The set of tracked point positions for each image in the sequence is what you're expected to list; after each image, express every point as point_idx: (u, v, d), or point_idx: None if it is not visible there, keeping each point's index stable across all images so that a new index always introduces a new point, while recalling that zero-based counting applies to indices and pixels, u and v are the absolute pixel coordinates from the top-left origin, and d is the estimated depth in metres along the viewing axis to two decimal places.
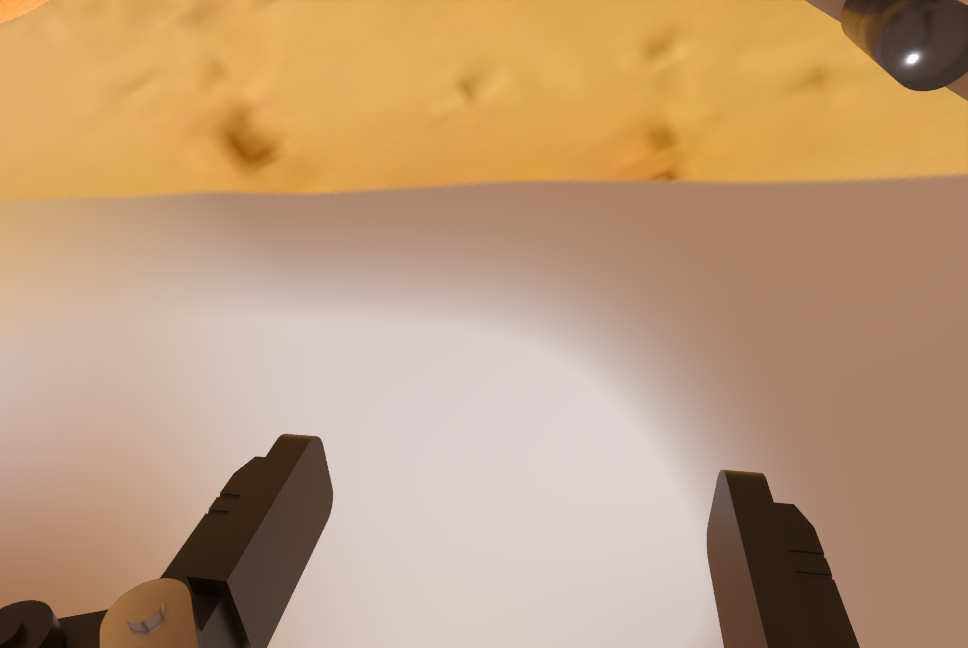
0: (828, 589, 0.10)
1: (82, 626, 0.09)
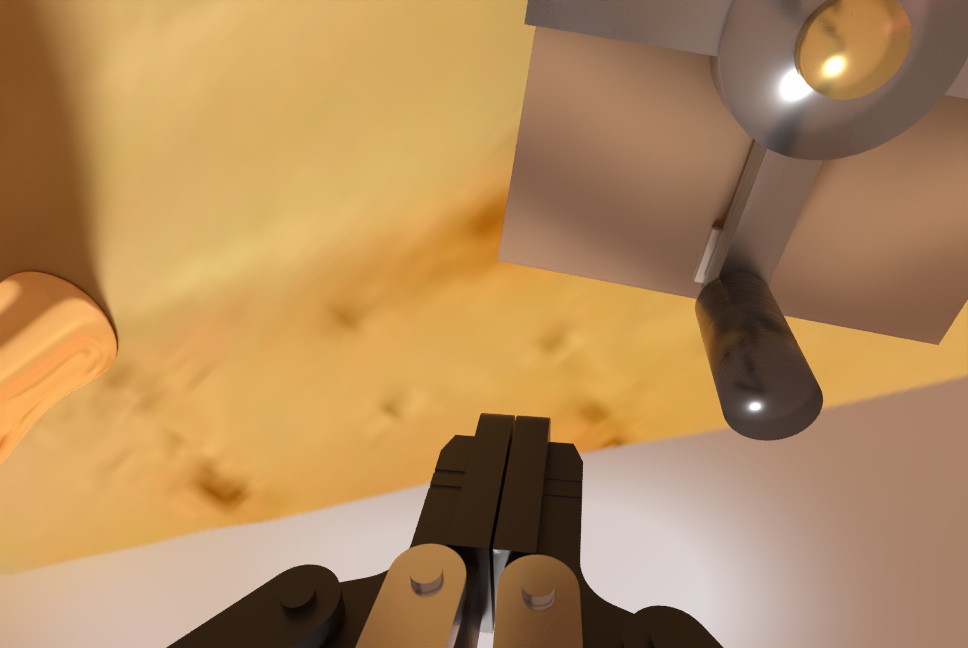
0: (573, 508, 0.11)
1: (353, 591, 0.10)
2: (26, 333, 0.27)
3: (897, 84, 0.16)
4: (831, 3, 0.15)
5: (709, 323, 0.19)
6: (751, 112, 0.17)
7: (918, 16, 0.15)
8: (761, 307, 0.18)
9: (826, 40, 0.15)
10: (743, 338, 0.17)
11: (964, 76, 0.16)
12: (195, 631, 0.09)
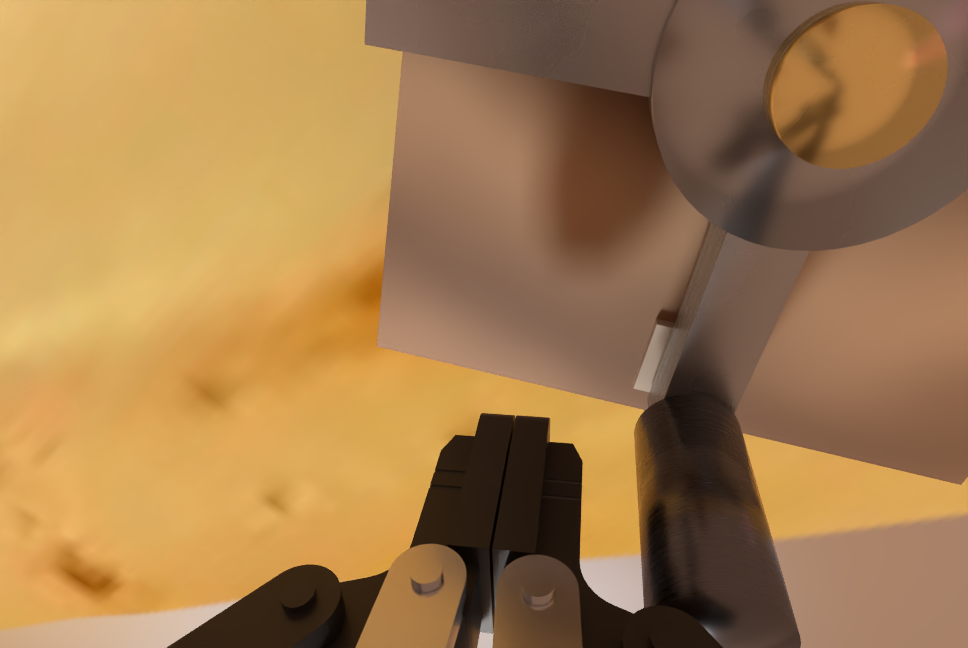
0: (573, 508, 0.11)
1: (353, 591, 0.10)
2: None
3: (923, 145, 0.10)
4: (819, 20, 0.09)
5: (644, 474, 0.13)
6: (701, 180, 0.11)
7: (958, 42, 0.10)
8: (716, 463, 0.12)
9: (811, 78, 0.10)
10: (682, 523, 0.11)
11: None
12: (196, 631, 0.09)
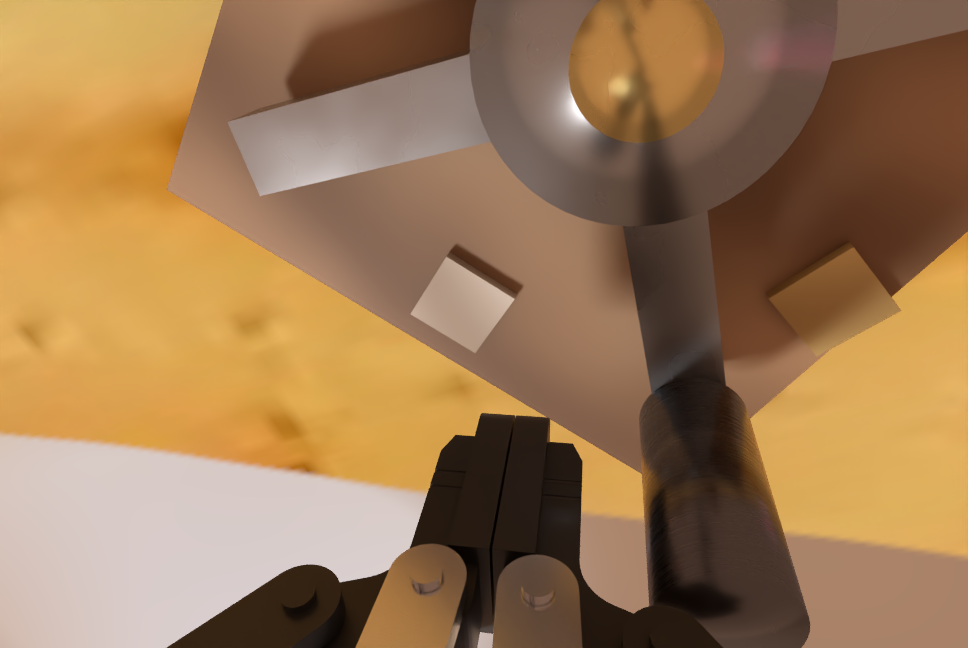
0: (573, 509, 0.11)
1: (353, 591, 0.10)
2: None
3: (750, 78, 0.10)
4: (582, 22, 0.10)
5: (642, 475, 0.13)
6: (570, 191, 0.12)
7: None
8: (696, 444, 0.12)
9: (597, 73, 0.10)
10: (664, 516, 0.11)
11: (852, 23, 0.10)
12: (196, 631, 0.09)
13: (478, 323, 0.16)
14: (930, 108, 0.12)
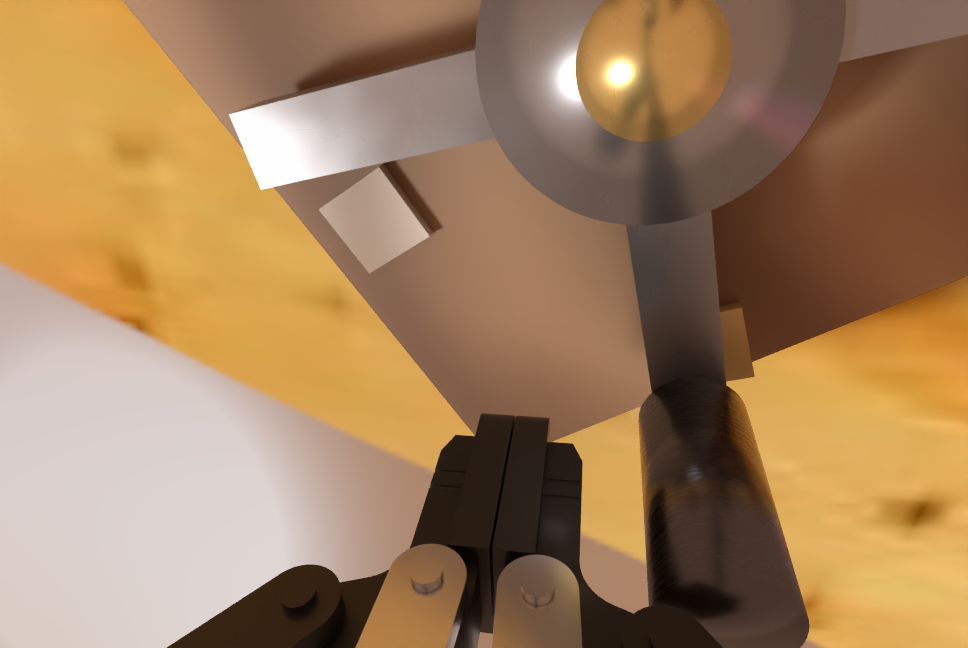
0: (573, 509, 0.11)
1: (353, 591, 0.10)
2: None
3: (757, 78, 0.10)
4: (589, 19, 0.10)
5: (642, 474, 0.13)
6: (574, 189, 0.12)
7: None
8: (696, 444, 0.12)
9: (604, 71, 0.10)
10: (664, 516, 0.11)
11: (860, 25, 0.10)
12: (196, 631, 0.09)
13: (384, 246, 0.15)
14: (850, 214, 0.13)
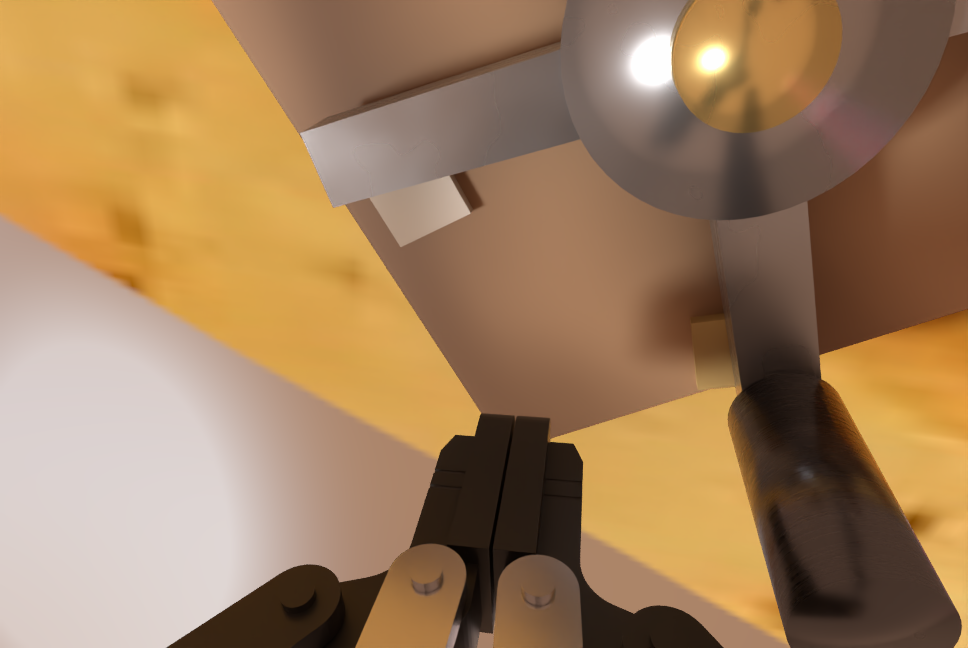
0: (574, 509, 0.11)
1: (352, 591, 0.10)
2: None
3: (860, 59, 0.10)
4: (686, 10, 0.10)
5: (745, 477, 0.13)
6: (663, 186, 0.12)
7: None
8: (807, 443, 0.12)
9: (704, 63, 0.10)
10: (786, 520, 0.11)
11: None
12: (195, 631, 0.09)
13: (420, 219, 0.15)
14: (900, 227, 0.13)
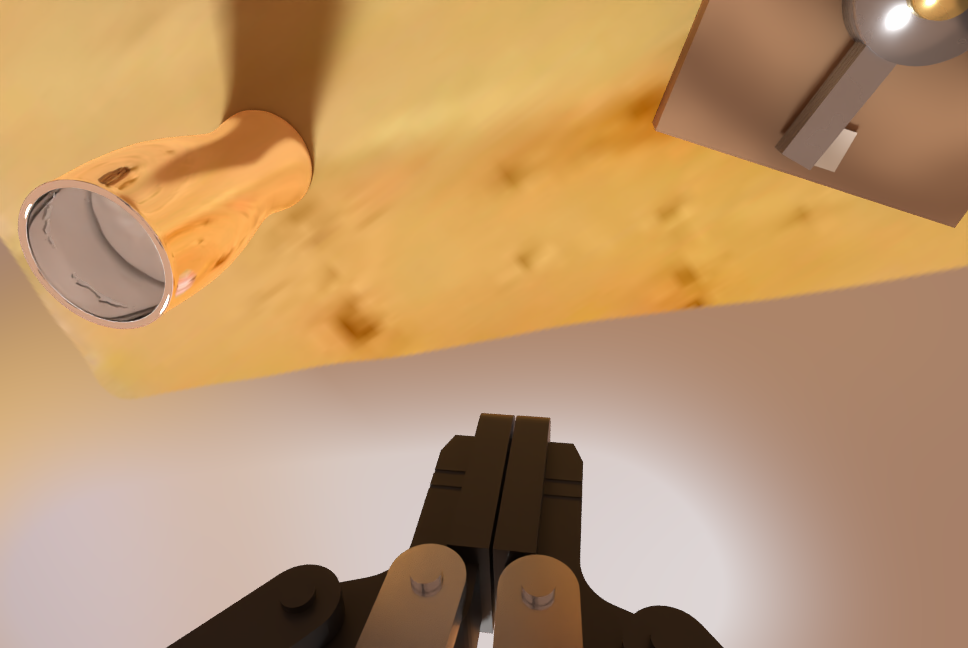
0: (573, 508, 0.11)
1: (353, 591, 0.10)
2: (266, 151, 0.34)
3: None
4: None
5: None
6: (946, 50, 0.26)
7: None
8: None
9: (932, 4, 0.25)
10: None
11: None
12: (195, 631, 0.09)
13: (836, 153, 0.31)
14: None
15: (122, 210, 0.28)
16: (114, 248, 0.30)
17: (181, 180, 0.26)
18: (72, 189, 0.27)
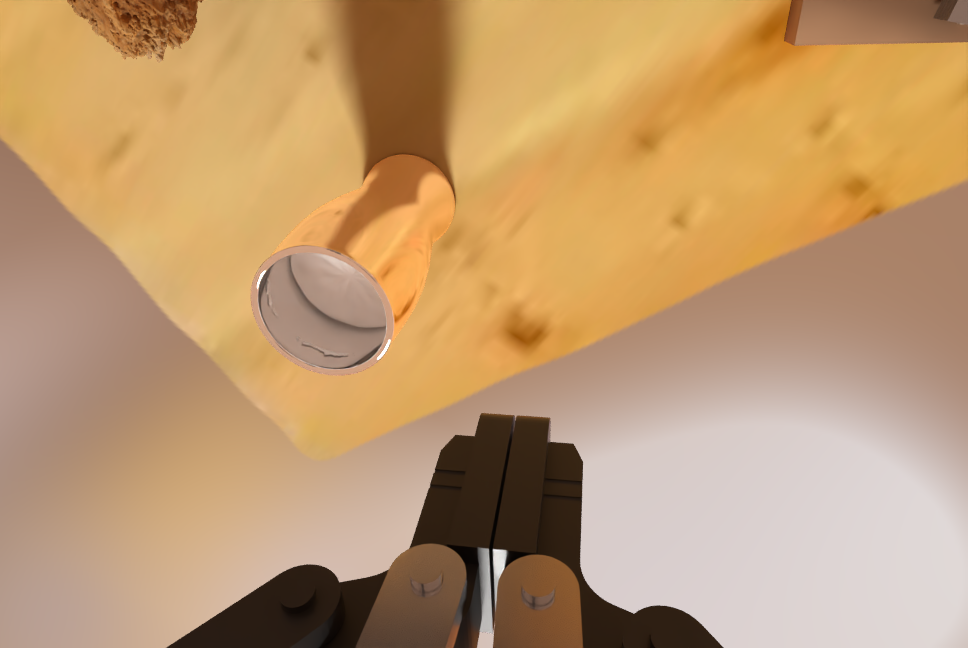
0: (573, 508, 0.11)
1: (353, 591, 0.10)
2: (416, 187, 0.36)
3: None
4: None
5: None
6: None
7: None
8: None
9: None
10: None
11: None
12: (195, 631, 0.09)
13: None
14: None
15: (321, 270, 0.31)
16: (318, 308, 0.32)
17: (372, 225, 0.28)
18: (279, 262, 0.30)
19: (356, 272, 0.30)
